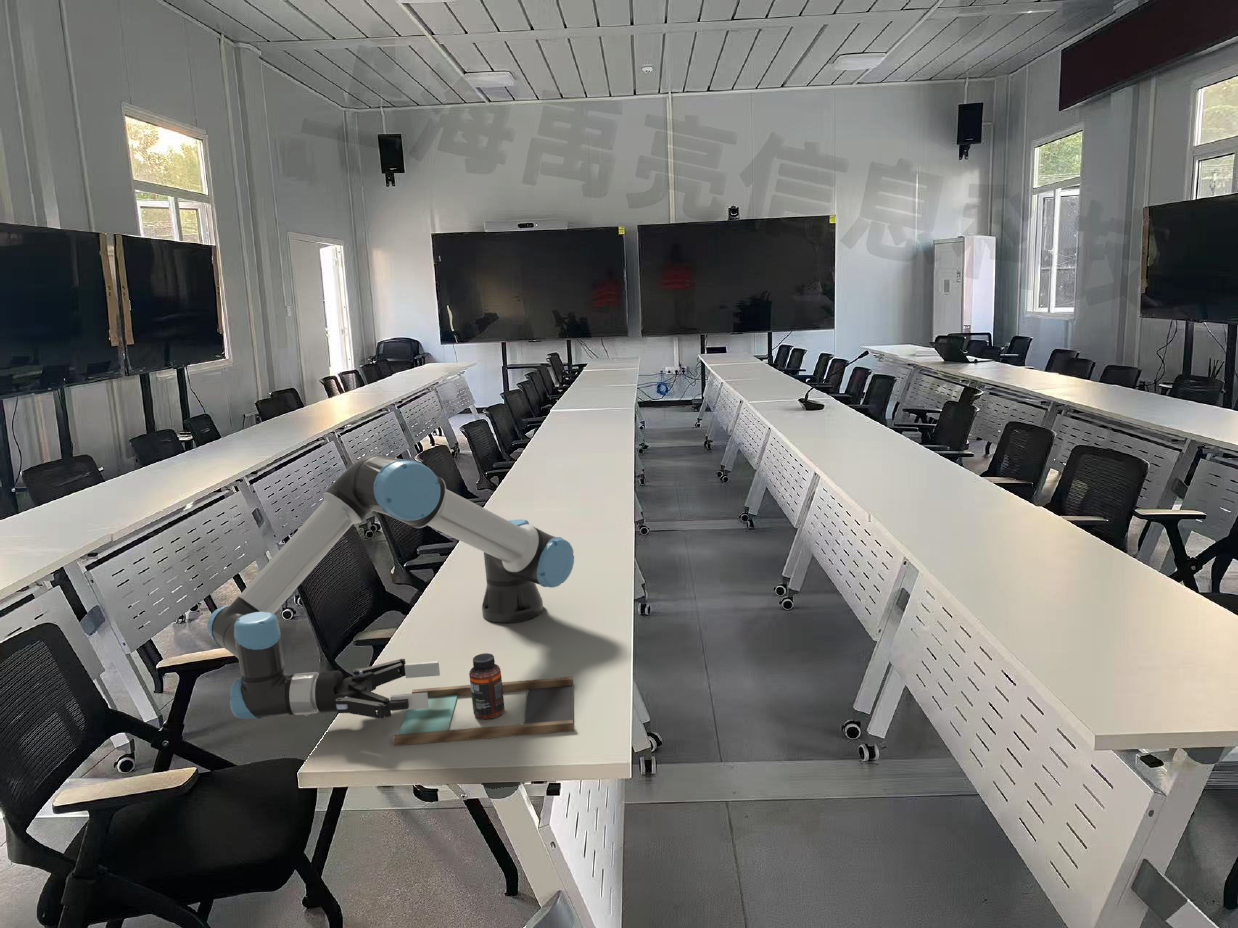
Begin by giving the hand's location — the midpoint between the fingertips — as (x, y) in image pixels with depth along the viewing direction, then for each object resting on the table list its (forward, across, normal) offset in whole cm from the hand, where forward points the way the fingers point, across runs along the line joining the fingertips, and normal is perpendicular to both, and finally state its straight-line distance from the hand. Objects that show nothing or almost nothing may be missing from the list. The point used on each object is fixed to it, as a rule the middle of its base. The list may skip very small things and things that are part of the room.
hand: (433, 683), depth 162 cm
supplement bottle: (+10, 0, -7) cm, 12 cm away
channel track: (+10, 0, -7) cm, 12 cm away
